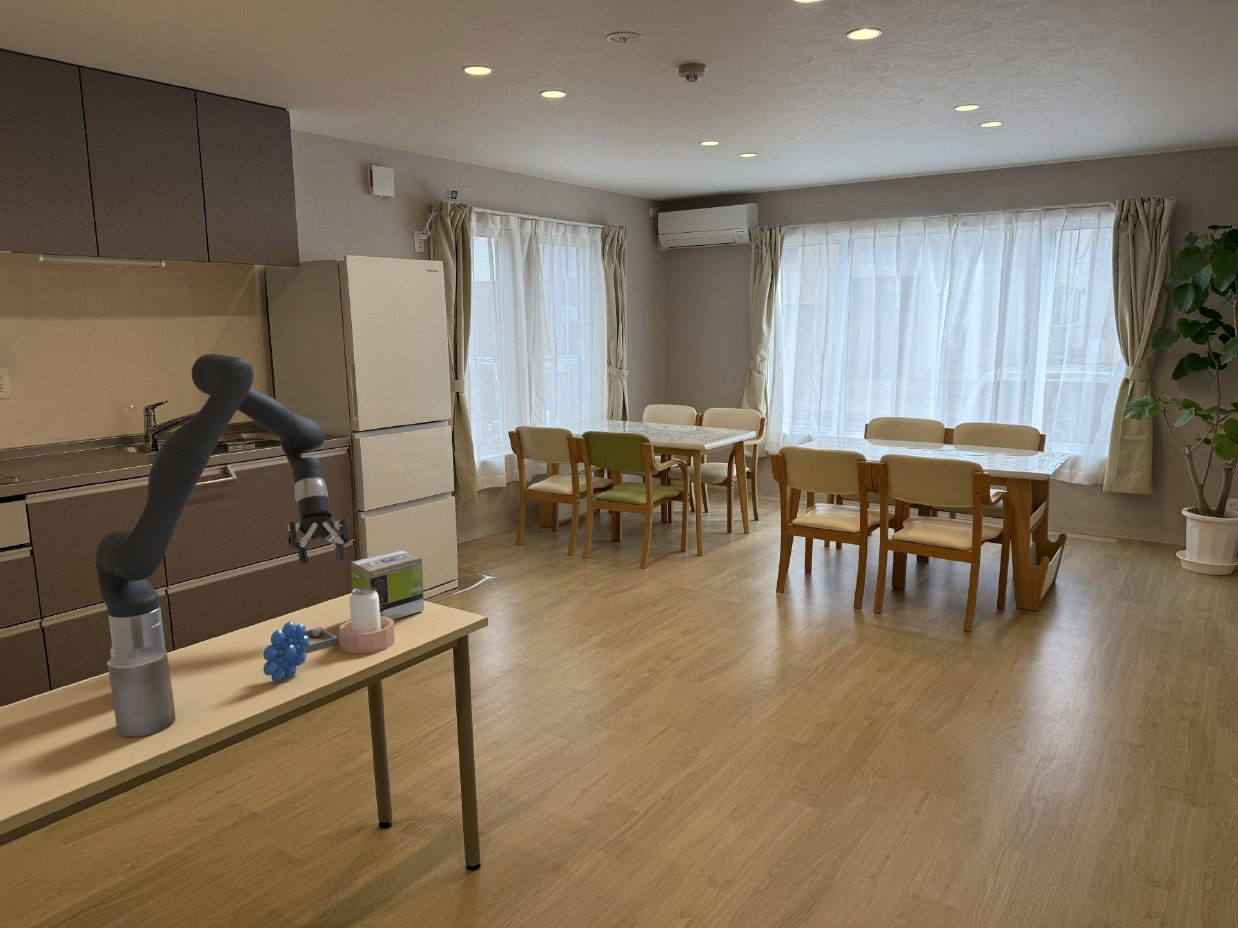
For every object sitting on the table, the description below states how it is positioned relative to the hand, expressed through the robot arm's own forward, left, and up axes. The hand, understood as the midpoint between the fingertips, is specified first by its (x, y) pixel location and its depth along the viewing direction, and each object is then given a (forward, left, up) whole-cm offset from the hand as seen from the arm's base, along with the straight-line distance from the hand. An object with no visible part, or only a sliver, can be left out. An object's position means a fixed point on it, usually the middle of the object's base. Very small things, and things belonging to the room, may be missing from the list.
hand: (323, 562), depth 202 cm
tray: (-7, -4, -17) cm, 19 cm away
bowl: (+3, -14, -17) cm, 23 cm away
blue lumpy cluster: (-18, -20, -18) cm, 32 cm away
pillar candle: (-46, -23, -18) cm, 54 cm away
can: (+3, -14, -17) cm, 22 cm away
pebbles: (-7, -4, -17) cm, 19 cm away
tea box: (+16, +1, -17) cm, 24 cm away
